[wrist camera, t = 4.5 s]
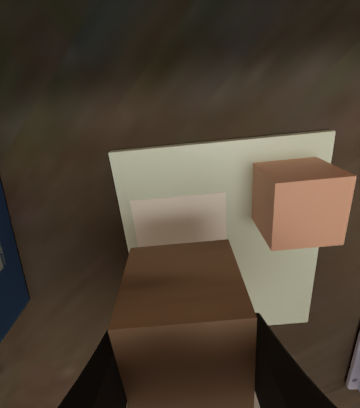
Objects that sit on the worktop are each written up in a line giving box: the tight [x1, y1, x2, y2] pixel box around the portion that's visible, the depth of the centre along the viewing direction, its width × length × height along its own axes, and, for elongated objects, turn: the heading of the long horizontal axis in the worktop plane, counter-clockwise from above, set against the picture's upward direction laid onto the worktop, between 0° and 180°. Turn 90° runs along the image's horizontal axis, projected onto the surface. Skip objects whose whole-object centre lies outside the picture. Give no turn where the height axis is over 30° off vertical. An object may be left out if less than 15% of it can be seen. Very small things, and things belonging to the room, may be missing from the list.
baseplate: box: [108, 130, 336, 325], centre depth 19 cm, size 16×14×1 cm
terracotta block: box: [252, 157, 357, 251], centre depth 15 cm, size 4×4×4 cm
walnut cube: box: [107, 239, 257, 408], centre depth 12 cm, size 5×5×5 cm
